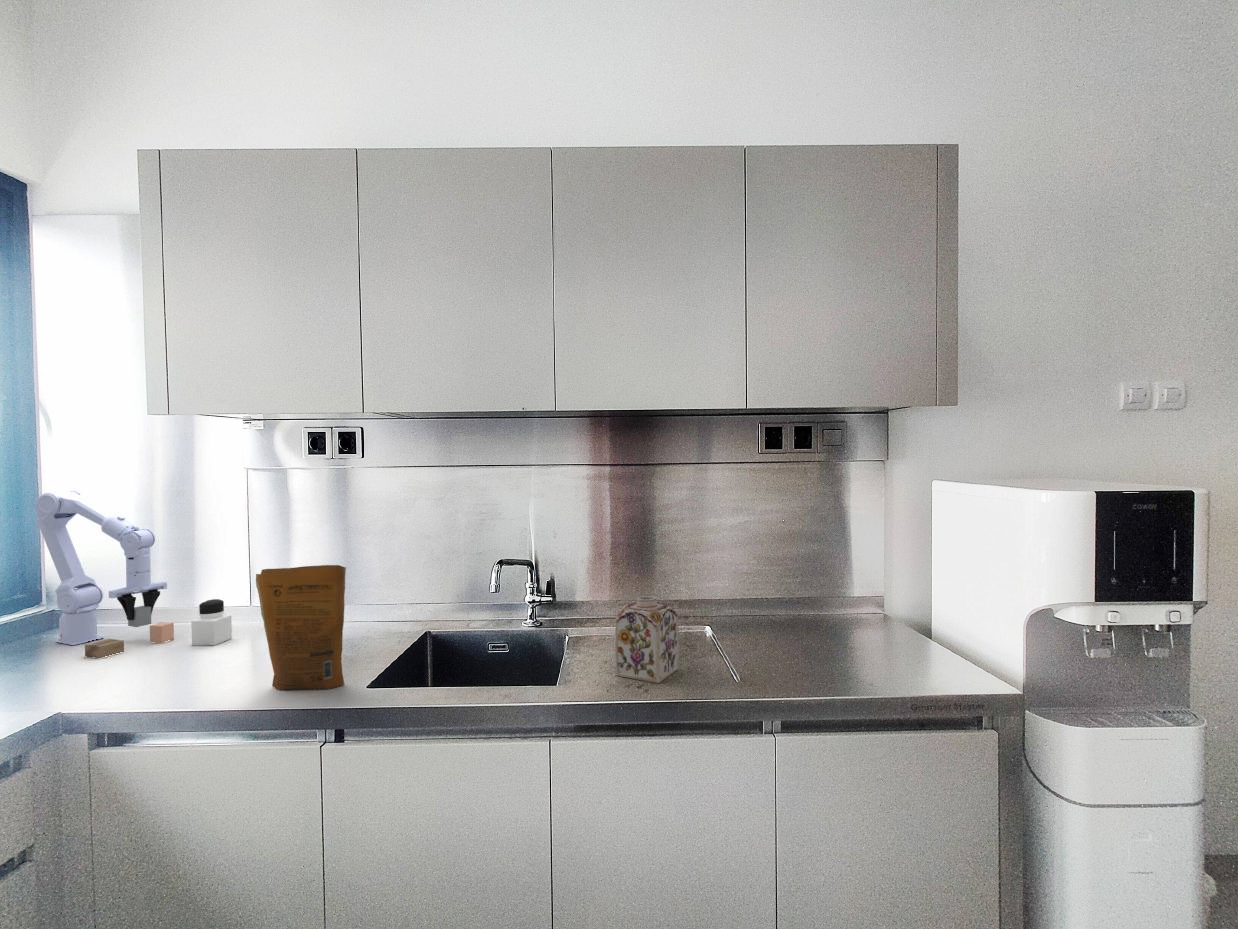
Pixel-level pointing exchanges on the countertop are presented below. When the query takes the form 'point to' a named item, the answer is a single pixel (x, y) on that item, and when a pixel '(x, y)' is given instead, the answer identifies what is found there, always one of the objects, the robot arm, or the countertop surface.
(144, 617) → the slate block
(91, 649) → the walnut block
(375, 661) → the countertop surface
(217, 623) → the medicine bottle
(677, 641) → the decorative jar
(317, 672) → the pancake mix bag
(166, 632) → the terracotta block
